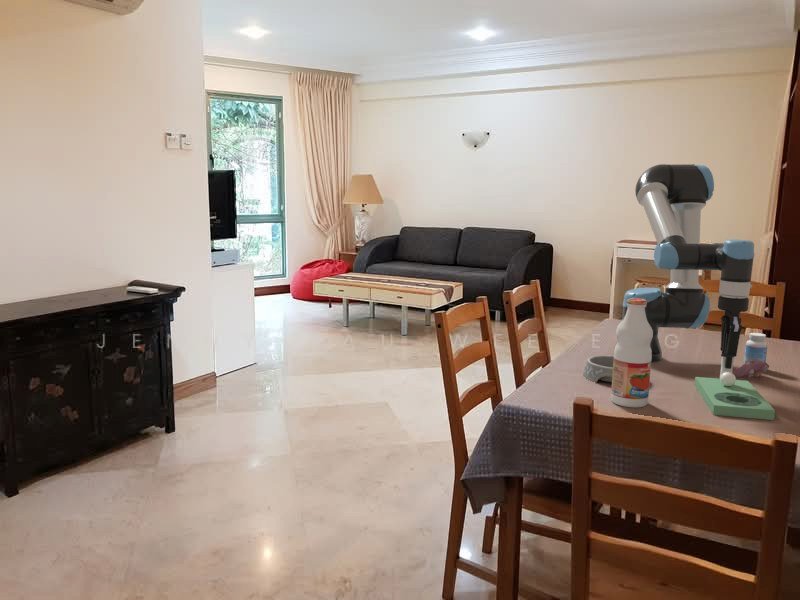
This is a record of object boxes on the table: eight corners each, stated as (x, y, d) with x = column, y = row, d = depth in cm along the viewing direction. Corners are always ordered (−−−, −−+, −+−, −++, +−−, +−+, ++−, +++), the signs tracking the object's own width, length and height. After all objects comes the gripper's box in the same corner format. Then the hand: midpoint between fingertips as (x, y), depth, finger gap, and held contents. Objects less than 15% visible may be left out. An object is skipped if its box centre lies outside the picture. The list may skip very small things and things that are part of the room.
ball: (720, 388, 182) (722, 374, 181) (717, 382, 185) (719, 369, 184) (736, 389, 181) (738, 375, 180) (733, 383, 184) (734, 370, 183)
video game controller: (740, 384, 198) (752, 367, 194) (729, 374, 202) (740, 357, 198) (763, 381, 202) (775, 364, 198) (752, 371, 206) (763, 354, 202)
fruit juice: (620, 394, 182) (628, 295, 177) (653, 402, 176) (662, 299, 171) (604, 402, 176) (611, 299, 171) (637, 410, 169) (646, 304, 164)
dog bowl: (589, 367, 210) (590, 351, 209) (650, 376, 201) (651, 359, 200) (576, 381, 195) (577, 363, 194) (641, 391, 187) (642, 372, 186)
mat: (694, 385, 192) (695, 376, 191) (746, 389, 189) (747, 380, 188) (713, 414, 167) (714, 405, 167) (774, 420, 164) (775, 410, 163)
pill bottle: (767, 371, 207) (771, 337, 205) (746, 370, 208) (750, 335, 206) (761, 366, 213) (765, 332, 211) (740, 365, 214) (744, 331, 212)
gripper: (755, 300, 174) (746, 386, 178) (742, 293, 187) (734, 373, 191) (724, 299, 176) (716, 383, 180) (714, 291, 188) (706, 371, 192)
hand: (725, 378), depth 185 cm, fingers closed
